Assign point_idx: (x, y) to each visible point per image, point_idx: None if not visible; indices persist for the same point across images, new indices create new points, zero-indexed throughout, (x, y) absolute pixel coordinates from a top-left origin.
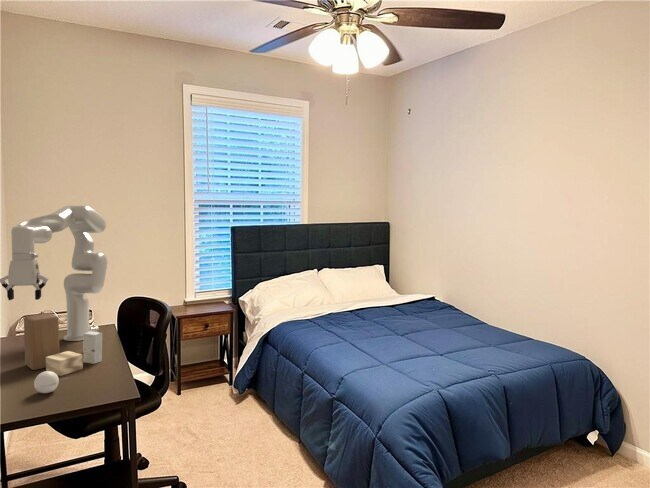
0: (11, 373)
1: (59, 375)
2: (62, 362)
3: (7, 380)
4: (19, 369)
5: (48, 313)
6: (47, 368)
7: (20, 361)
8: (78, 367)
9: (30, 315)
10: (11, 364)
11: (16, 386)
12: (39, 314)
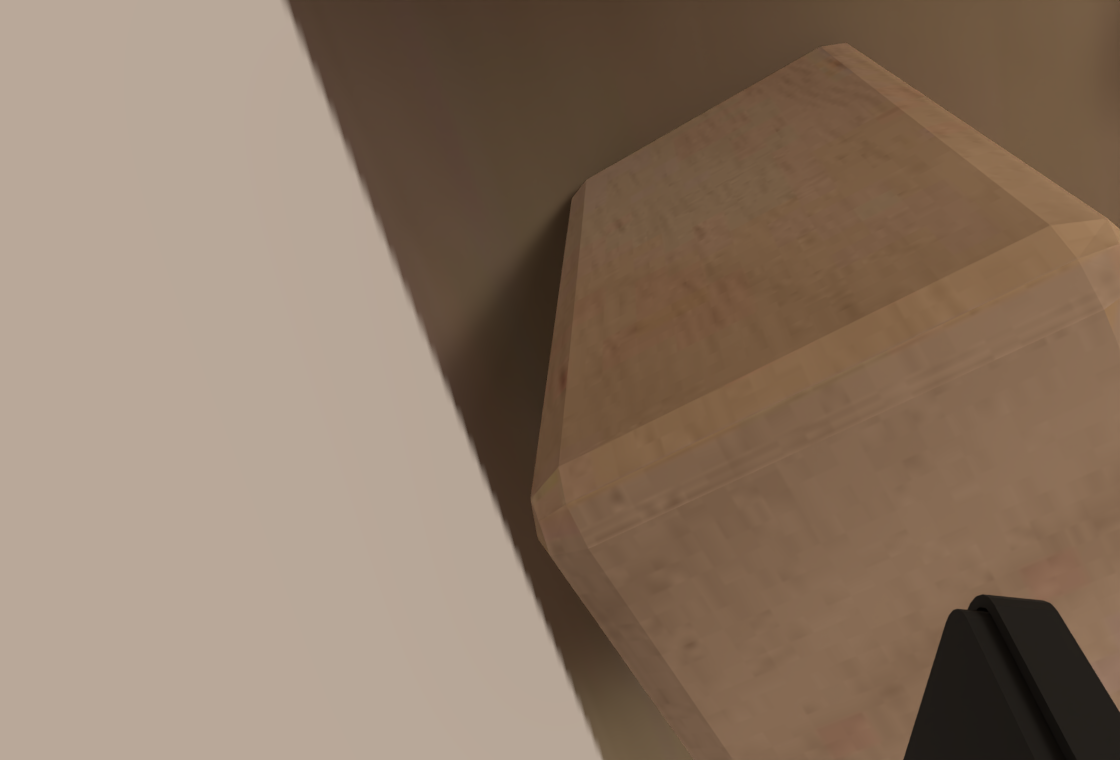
0: (520, 438)
1: None
2: None
3: (555, 609)
4: None
5: (1086, 370)
6: None
7: (461, 14)
8: None
9: (663, 512)
10: (399, 121)
11: (675, 749)
12: (864, 451)
